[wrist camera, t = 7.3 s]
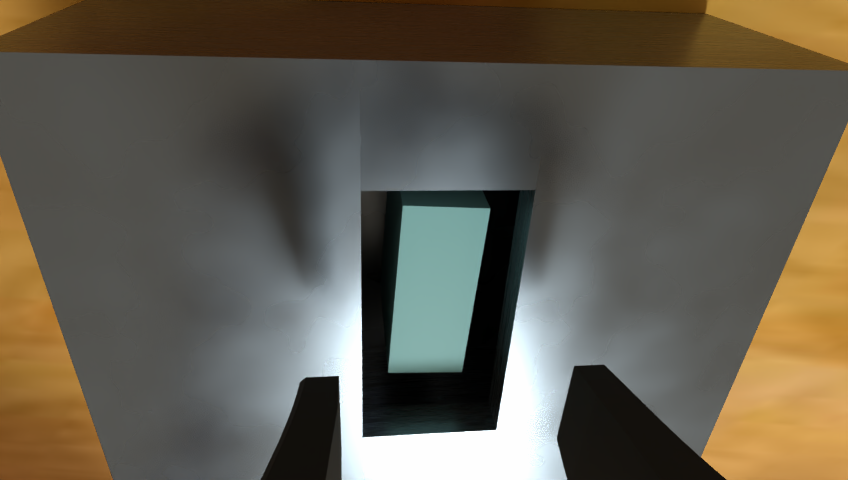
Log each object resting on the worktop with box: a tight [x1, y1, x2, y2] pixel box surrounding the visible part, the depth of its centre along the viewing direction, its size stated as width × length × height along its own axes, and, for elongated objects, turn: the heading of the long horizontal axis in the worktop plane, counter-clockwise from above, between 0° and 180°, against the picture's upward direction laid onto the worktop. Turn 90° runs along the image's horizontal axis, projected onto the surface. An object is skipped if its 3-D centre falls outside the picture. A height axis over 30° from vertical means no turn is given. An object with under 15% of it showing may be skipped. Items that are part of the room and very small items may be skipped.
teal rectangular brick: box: [380, 190, 491, 373], centre depth 16 cm, size 2×5×4 cm, turn 174°
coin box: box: [0, 0, 848, 480], centre depth 16 cm, size 16×12×6 cm
